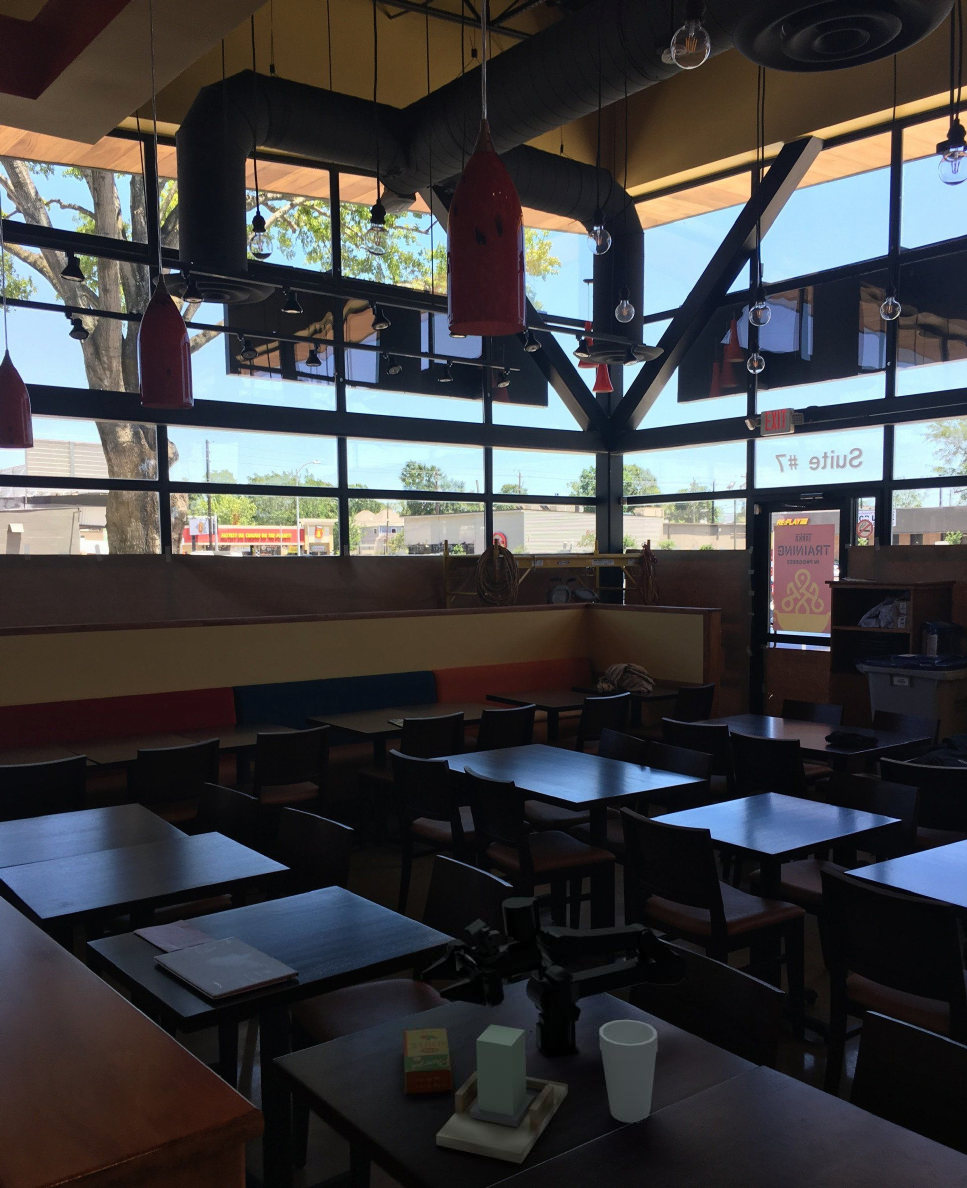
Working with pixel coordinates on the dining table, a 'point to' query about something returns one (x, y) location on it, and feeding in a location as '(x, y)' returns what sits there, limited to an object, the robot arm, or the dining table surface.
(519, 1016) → the dining table surface
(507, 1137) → the track
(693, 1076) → the dining table surface
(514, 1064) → the tall sage green block
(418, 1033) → the carton
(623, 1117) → the foam cup
